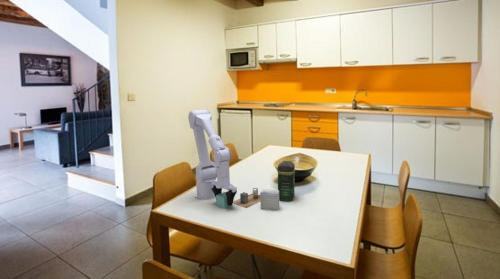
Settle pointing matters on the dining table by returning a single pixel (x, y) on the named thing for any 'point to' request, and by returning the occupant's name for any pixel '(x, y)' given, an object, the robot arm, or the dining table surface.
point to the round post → (255, 193)
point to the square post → (244, 198)
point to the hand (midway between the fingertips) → (224, 203)
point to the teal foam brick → (222, 200)
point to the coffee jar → (286, 181)
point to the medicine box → (269, 199)
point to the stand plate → (250, 201)
